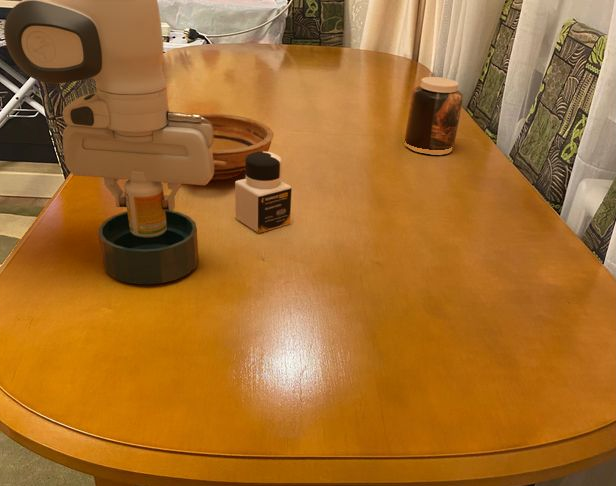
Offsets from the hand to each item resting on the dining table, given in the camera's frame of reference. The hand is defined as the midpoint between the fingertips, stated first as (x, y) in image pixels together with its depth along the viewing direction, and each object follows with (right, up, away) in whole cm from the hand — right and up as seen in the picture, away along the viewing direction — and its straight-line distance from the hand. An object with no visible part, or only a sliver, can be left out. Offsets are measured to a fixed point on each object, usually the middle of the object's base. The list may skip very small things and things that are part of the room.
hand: (145, 207), depth 88 cm
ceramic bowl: (+4, +17, +38) cm, 42 cm away
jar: (+53, +28, +58) cm, 83 cm away
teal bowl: (-1, -7, +6) cm, 9 cm away
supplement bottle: (0, -3, +2) cm, 4 cm away
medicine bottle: (+16, +2, +20) cm, 25 cm away
